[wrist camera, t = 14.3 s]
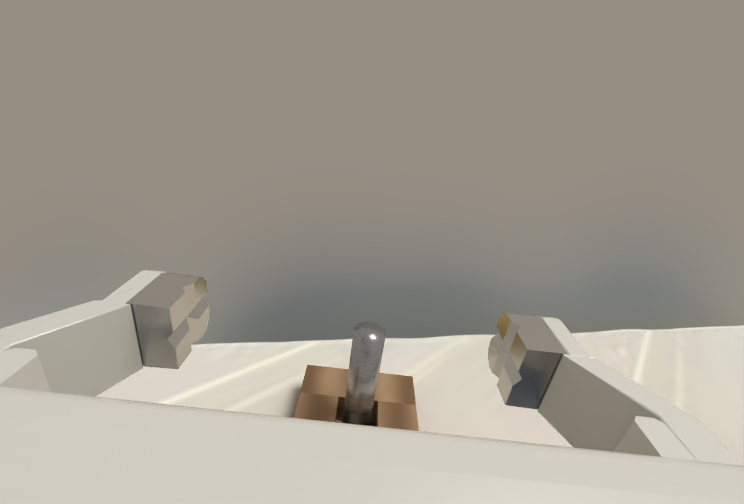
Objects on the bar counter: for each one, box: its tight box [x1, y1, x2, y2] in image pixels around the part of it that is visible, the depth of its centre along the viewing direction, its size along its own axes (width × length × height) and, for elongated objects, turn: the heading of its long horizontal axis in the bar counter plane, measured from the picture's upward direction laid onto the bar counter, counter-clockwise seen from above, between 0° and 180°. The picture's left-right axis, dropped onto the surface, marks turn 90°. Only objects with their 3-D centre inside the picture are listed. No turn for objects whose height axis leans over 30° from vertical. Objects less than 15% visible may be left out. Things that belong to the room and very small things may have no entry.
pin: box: [342, 322, 386, 426], centre depth 38 cm, size 3×3×16 cm
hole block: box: [294, 365, 419, 431], centre depth 41 cm, size 14×14×4 cm
